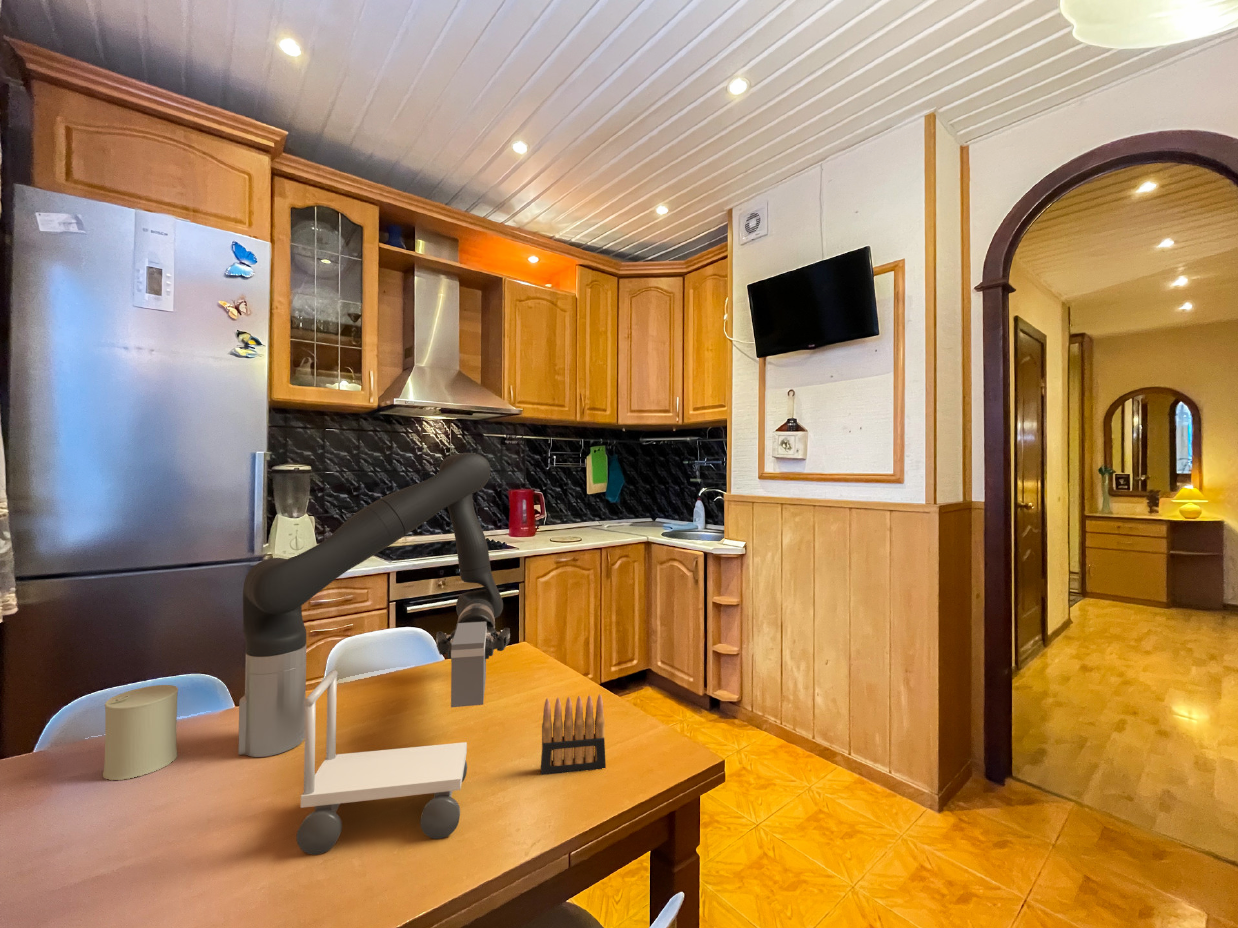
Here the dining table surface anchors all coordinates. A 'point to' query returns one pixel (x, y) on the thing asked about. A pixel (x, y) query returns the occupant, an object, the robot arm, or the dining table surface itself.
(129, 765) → the can
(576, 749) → the ammunition clip
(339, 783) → the trolley
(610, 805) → the dining table surface
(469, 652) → the grey lidded box
